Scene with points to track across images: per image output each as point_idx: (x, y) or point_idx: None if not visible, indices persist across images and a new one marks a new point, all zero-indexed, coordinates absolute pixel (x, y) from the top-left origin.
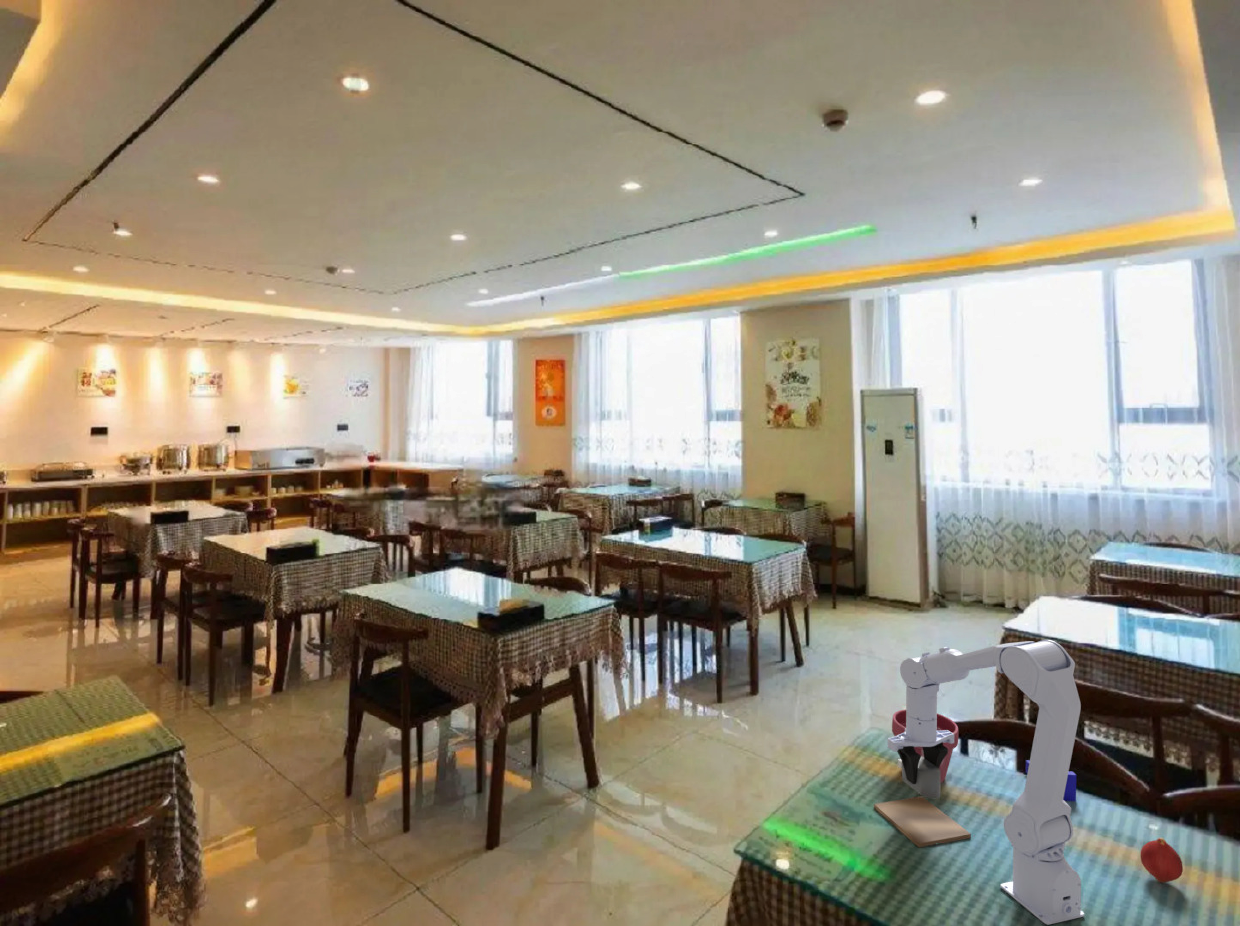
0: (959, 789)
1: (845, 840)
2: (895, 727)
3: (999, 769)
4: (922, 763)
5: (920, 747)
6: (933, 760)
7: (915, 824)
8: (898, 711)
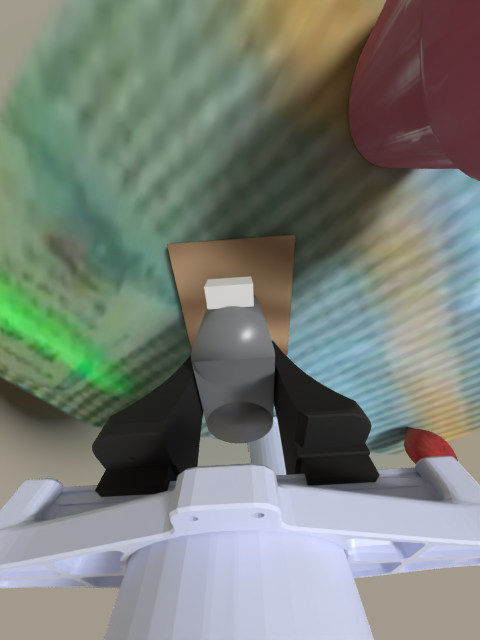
0: (414, 208)
1: (83, 326)
2: None
3: None
4: (239, 399)
5: (436, 129)
6: (279, 417)
7: None
8: None
